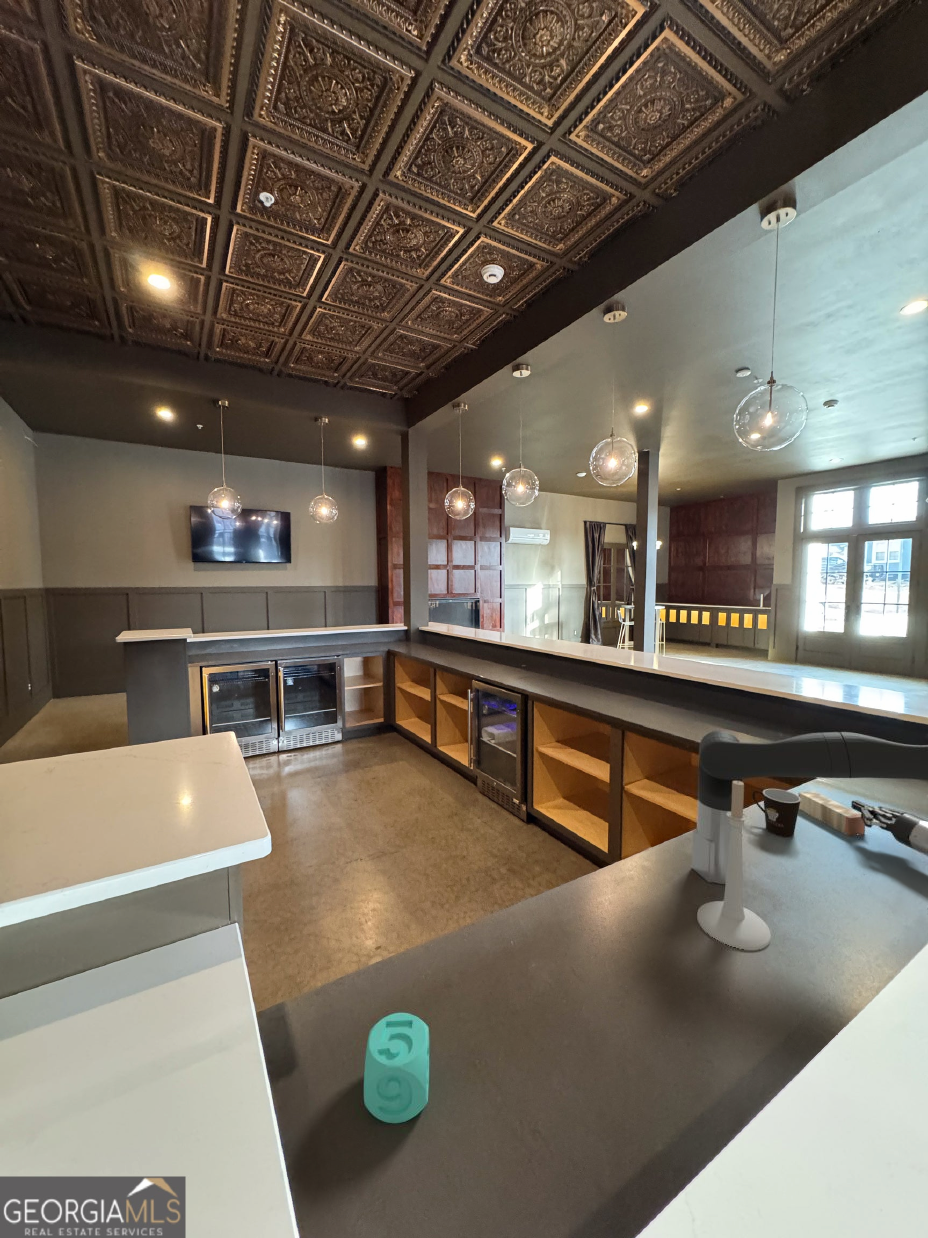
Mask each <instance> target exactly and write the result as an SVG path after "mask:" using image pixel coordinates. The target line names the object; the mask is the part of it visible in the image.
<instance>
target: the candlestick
mask: <svg viewBox="0 0 928 1238" xmlns="http://www.w3.org/2000/svg"><path fill="white" fill-rule="evenodd" d="M744 792H745V784H744V781H743V782H741V781H733V782H732V806H731V811H730V812H727V816H728V817H729V818H730V819H729V823H730V824H731V827H732V831H731V832H730V844H729V854H728V864H727V875H726V884H724V885H725V887H724V894H723V895H724V896H723V900H722V901H721V900H717V901H716V900H715V901H709V902H706V903H704V904H702V905H701V906H699V908H698V910H697V911H696V912H697V914H696V919H697V922H698V924H699V926H700V928H701V929H702V931H704V932H705V933H706V934H707V933H708V934H709V937H710V938H712V937H713V938H712V939H714V938H715V939H716V940H715V939H714V940H715V941H717V940H719V941H721V942H723V943H724V944H723V943H722V944H723V945H725V944H727V945H729V946H728V947H730V946H732V947H731V948H733V947H736V948H735V949H737V948H739V949H738V950H741V949H744V950H743V951H759V949H760V950H763V949H764V948H767V947H768V946H769V945H770V943H771V938H772V936H771V930H770V928H769V926H768V924H767V923H766V922H765V921H764V920H763V919H762V918H761V917H760V916H758V914H756V913H755V912H753V911H752V910H750V909H748V908H746V907H745V905H744V873H743V872H744V870H743V869H744V867H743V865H744V864H743V860H744V859H743V833H741V829H742V830H743V827H745V821H746V820H748V816H747V815H746V814H745V813H744V797H745V793H744ZM708 934H707V935H708ZM719 941H718V942H719ZM721 942H720V943H721ZM727 945H726V946H727Z"/></svg>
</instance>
